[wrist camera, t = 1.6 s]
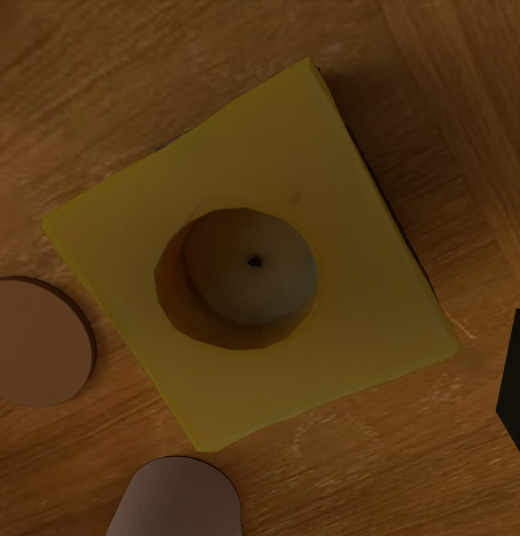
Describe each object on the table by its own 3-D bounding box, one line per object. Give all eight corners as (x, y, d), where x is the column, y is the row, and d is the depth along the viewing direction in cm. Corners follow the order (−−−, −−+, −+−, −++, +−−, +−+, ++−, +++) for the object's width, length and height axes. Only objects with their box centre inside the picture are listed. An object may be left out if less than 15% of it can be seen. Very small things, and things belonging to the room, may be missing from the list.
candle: (416, 256, 25) (479, 356, 15) (241, 339, 27) (202, 469, 18) (319, 63, 22) (324, 40, 13) (137, 174, 25) (28, 222, 15)
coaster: (-50, 272, 28) (-58, 276, 27) (89, 280, 27) (84, 284, 26) (-26, 396, 30) (-32, 402, 30) (102, 406, 29) (98, 412, 29)
